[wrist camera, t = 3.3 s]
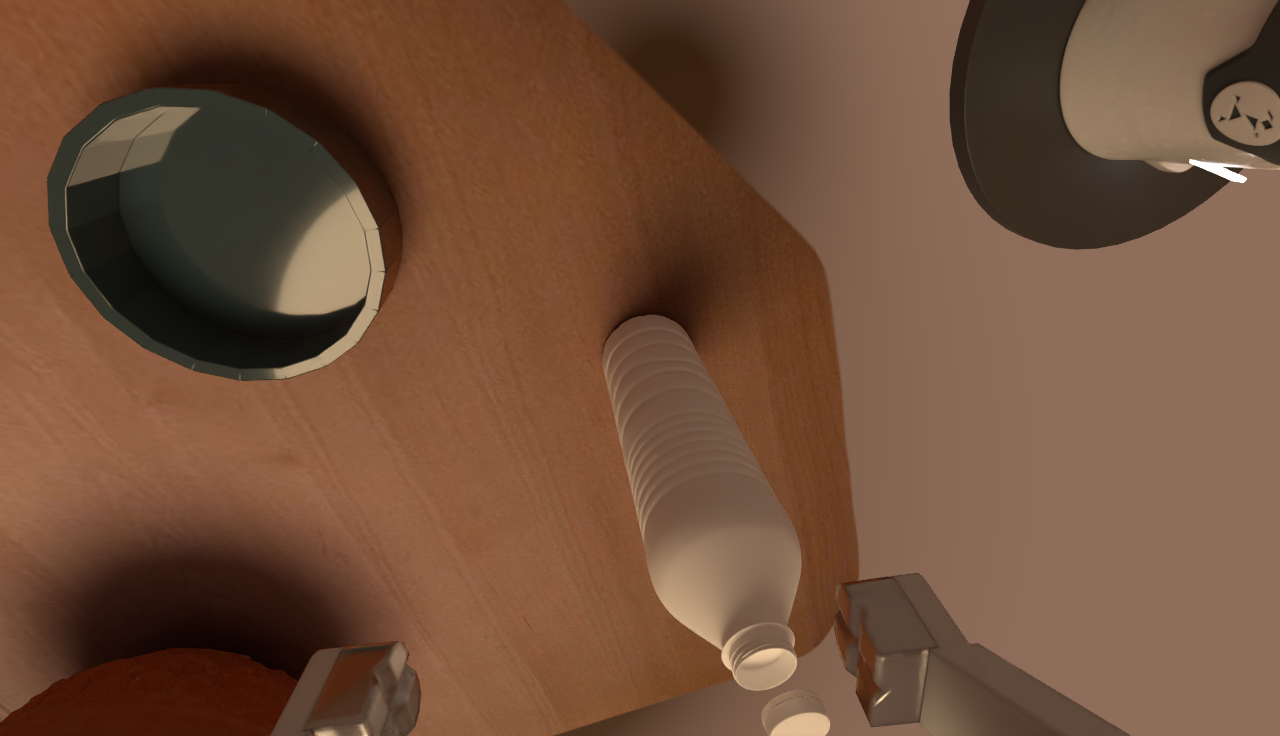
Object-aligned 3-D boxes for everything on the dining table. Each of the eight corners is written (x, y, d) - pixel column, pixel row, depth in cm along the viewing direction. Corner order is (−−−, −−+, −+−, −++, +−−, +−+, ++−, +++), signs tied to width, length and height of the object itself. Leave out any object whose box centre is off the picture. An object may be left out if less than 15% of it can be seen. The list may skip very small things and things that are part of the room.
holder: (250, 19, 30) (201, 13, 26) (455, 253, 37) (444, 279, 33) (47, 195, 32) (-30, 217, 28) (277, 384, 39) (245, 426, 35)
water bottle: (585, 337, 41) (645, 659, 19) (671, 297, 41) (832, 578, 19) (636, 430, 45) (732, 780, 23) (714, 394, 45) (886, 716, 23)
